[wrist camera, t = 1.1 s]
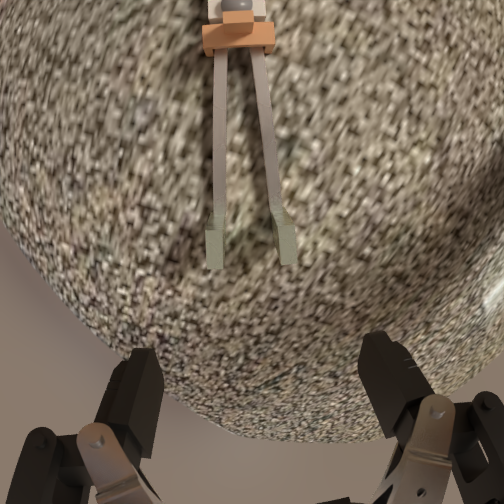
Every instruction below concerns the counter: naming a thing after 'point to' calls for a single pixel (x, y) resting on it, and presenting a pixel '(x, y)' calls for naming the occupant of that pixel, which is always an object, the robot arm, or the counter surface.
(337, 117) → the counter surface
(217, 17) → the block
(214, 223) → the leg
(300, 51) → the counter surface
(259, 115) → the leg
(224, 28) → the stepped wooden block
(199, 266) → the counter surface
